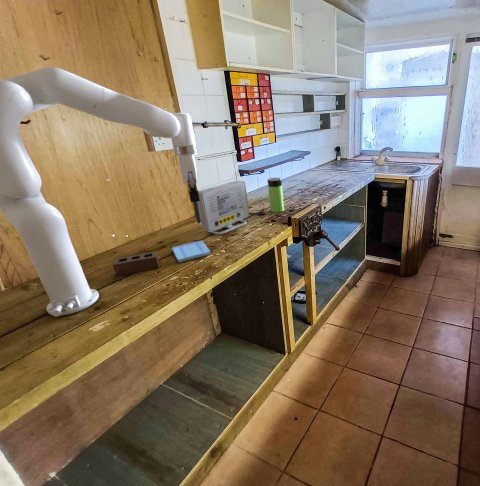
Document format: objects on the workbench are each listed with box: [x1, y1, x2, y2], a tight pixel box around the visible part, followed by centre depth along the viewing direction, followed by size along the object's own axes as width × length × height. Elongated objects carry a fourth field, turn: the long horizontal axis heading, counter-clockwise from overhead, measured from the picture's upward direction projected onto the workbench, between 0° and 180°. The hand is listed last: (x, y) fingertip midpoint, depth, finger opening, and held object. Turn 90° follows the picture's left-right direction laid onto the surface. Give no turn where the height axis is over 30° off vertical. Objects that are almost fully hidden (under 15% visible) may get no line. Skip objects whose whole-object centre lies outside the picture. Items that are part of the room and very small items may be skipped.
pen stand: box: [112, 250, 160, 277], centre depth 112 cm, size 5×13×4 cm, turn 114°
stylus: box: [190, 188, 202, 225], centre depth 119 cm, size 2×2×15 cm
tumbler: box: [267, 177, 285, 213], centre depth 167 cm, size 8×8×17 cm
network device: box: [198, 179, 250, 235], centre depth 146 cm, size 26×9×20 cm, turn 148°
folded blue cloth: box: [171, 240, 211, 263], centre depth 124 cm, size 14×12×1 cm
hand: (195, 200), depth 118 cm, fingers closed on stylus, 1 cm apart
